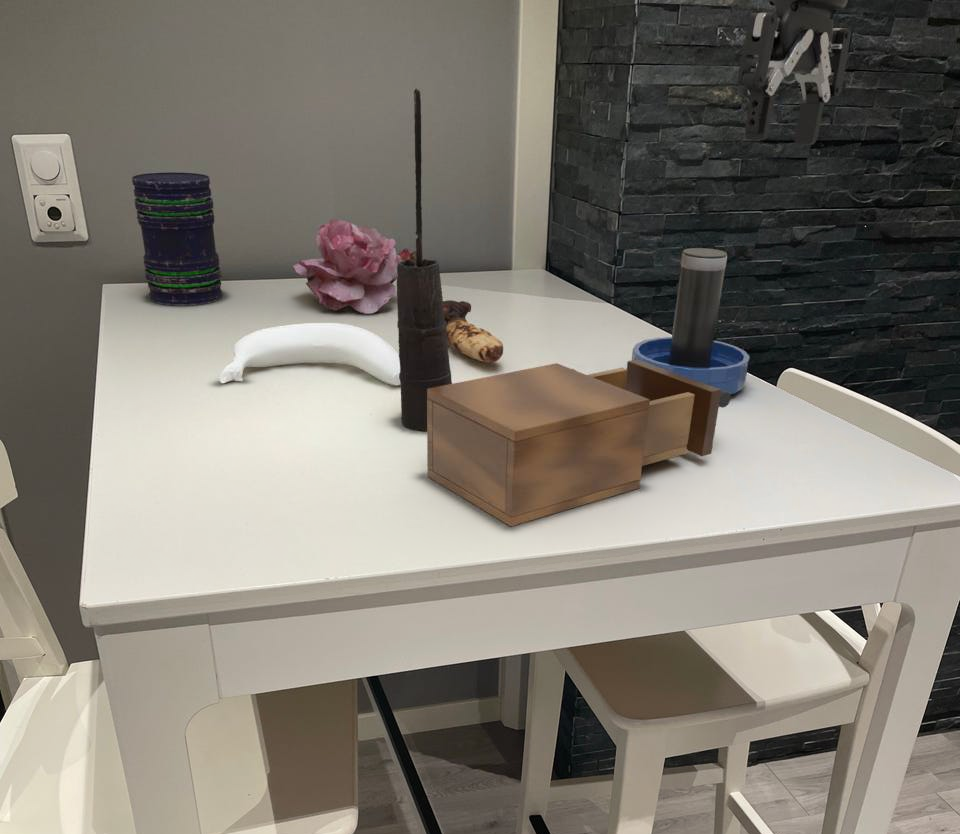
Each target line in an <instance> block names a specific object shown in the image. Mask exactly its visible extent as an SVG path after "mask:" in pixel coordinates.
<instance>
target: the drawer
mask: <svg viewBox="0 0 960 834" xmlns="http://www.w3.org/2000/svg"><path fill="white" fill-rule="evenodd" d="M587 375H588V376H591V377H593V378H596V379H598V380H601V381H603V382H606V383H609V384H611V385H614V386H616V387H619V388H621V389H624V390H626V391H629V392H632V393H634V394H637V395H639V396H642V397H644V398H647V399H649V400H650V404H649V413H648V421H647V429H646V438H645V446H644V454H643V462H642V467H644V466H647V465H651V464H655V463H658V462H661V461H664V460H668V459H671V458H675V457H678V456H683V455H685V454H687V451H689V452H691V453H693V454H696V455H698V456H700V457H704V456H705V457H706V456H709V455H711V454H712V451H713V444H714V438H715V432H716V427H717V420H718V414H719V407H720V408H722V409H723V408H726V407H727V406H728V405H729V404H730V401H731V398H732V397H731V396H732V395H731V394H730V393H729V392H726V391H723V390H721V389H718V388H716V387H713V386H710V385H707V384H704V383H701V382H699V381H696V380H693V379H690V378H687V377H685V376H682V375H679V374H676V373H673V372H671V371H668V370H665V369H662V368H659V367H657V366H654V365H651V364H648V363H645V362H643V361H640V360H637V359H636V360H632V359H631V360H628V361H627V362H626V368H624V367H618V368H613V369H608V370H604V371H598V372H594V373H589V374H587Z"/></svg>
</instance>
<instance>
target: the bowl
mask: <svg viewBox="0 0 960 834" xmlns="http://www.w3.org/2000/svg"><path fill="white" fill-rule="evenodd" d="M671 340H672V336H665V337H664V336H663V337H654V338H650V339H645V340H642V341H640V342H637V343H635V344H634V346H633V348H632V353H631V360H636V359H637V360H640V361H643V362H645V363H648V364H651V365H654V366H657V367H659V368H662V369H665V370H668V371H671V372H673V373H676V374H679V375H682V376H685V377H687V378H690V379H693V380H696V381H699V382H701V383H704V384H707V385H710V386H713V387H716V388H718V389H721V390H723V391H726V392H729V393H730V395H733V394H736V393H738V392H739V391H741V390H743V389H744V388H745V385H746V383H747V382H746V380H747V376H748V369H749V363H750V359H751V357H750V355H749V354H748V352H747V351H746V350H743V349H742V348H740V347H739V346H736V345H733V344H729V343H727V342H723V341H718V340H714V343H713V350H712V356H711V363H710V368H692V367H683V366H675V365H670V364H668V363H669V356H670V348H671Z"/></svg>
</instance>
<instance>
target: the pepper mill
mask: <svg viewBox="0 0 960 834" xmlns="http://www.w3.org/2000/svg"><path fill="white" fill-rule="evenodd" d="M727 261H728V253H727V252H726V251H724V250H720V249H715V248H706V247H692V248H686V249H683V251H682V253H681V260H680V271H679V280H678V287H677V295H676V302H675V310H674V318H673V324H672V325H673V326H672V334H671V337H672V340H671V348H670V356H669V363H668V364H670V365H675V366H683V367H692V368H710V363H711V356H712V350H713V343H714V341H715V336H716V329H717V324H718V323H717V322H718V316H719V309H720V305H721V304H720V303H721V297H722V291H723V285H724V279H725V270H726V267H727Z"/></svg>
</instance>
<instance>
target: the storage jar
mask: <svg viewBox="0 0 960 834" xmlns="http://www.w3.org/2000/svg"><path fill="white" fill-rule="evenodd" d="M131 181H132V186H134V189H133V195H134V197H135V198H134V200H133V201H134V207H135V210H136V215H137V216H136V219H137V223H138V225H139V226H140V228H141V235H142V242H143V247H144V248H143V249H144V255H143V264H144V268H145V269H144V273H145V274H144V275H145V279H146V281H148V282H147V287H148V289H149V300H150V301H151V302H153V303H155V304H159V305H164V306H165V305H166V306H175V307H177V306H179V307H180V306H183V307H184V306H185V307H186V306H199V305H206V304H211V303H215V302H218V301H219V300H221V299H223V291H222V288H221V285H222V280H221V278H222V270H221V267H220V259H219V254H218V253H217V249H216V242H215V241H216V239H215V231H214V223H215V214H214V210H213V209H214V199H213V197H212V190H211V188H210V184H211V180H210V176H209V175H207V174H202V173H196V172H195V173H193V172H173V171H172V172H171V171H170V172H169V171H168V172H150V173H141V174H136V175H133V176H131Z"/></svg>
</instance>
